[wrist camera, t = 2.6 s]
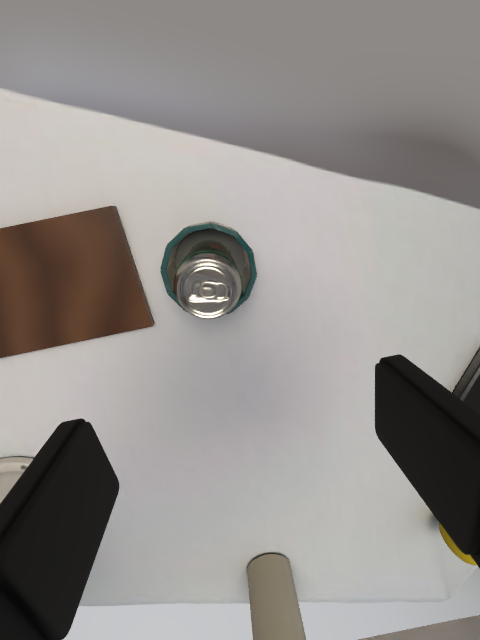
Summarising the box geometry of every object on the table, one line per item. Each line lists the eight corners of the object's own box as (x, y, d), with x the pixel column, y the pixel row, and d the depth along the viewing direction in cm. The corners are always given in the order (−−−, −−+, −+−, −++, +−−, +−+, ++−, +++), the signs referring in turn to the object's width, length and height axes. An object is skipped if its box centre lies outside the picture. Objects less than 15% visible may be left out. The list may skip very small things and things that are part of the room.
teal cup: (182, 307, 32) (176, 324, 27) (161, 231, 29) (149, 234, 24) (254, 292, 32) (262, 306, 27) (241, 215, 29) (246, 214, 24)
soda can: (189, 236, 29) (173, 249, 18) (235, 243, 30) (248, 258, 19) (185, 283, 31) (169, 320, 20) (230, 288, 32) (238, 327, 20)
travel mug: (245, 554, 49) (261, 731, 32) (289, 549, 50) (328, 719, 33) (247, 581, 52) (263, 756, 35) (289, 575, 52) (324, 745, 36)
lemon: (464, 504, 49) (508, 556, 42) (447, 525, 51) (487, 578, 44) (439, 500, 48) (480, 552, 41) (422, 521, 50) (459, 574, 43)
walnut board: (-14, 358, 32) (-21, 362, 31) (-82, 246, 27) (-92, 247, 27) (154, 323, 32) (152, 326, 31) (115, 205, 28) (112, 205, 27)
